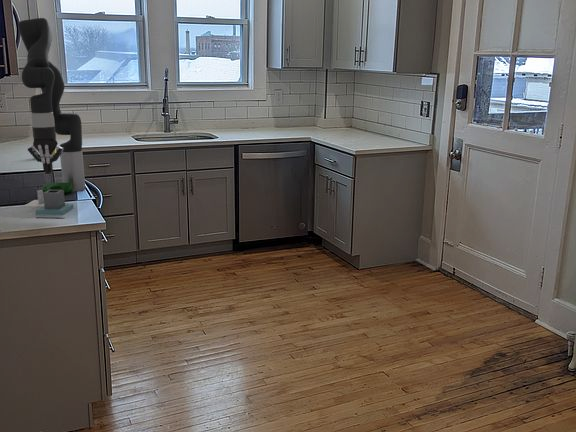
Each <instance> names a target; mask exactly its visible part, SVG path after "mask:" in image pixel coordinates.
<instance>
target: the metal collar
mask: <svg viewBox="0 0 576 432" xmlns="http://www.w3.org/2000/svg"><path fill="white" fill-rule="evenodd" d="M43 198H44V207H45V209H60V208H62V207H64V206H65V204H66V202H65V201H66V199H65V194H64V190H48V191H46V192H44V193H43Z"/></svg>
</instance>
